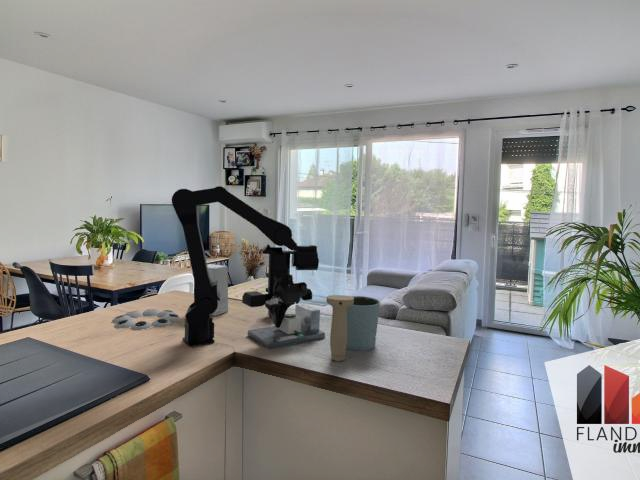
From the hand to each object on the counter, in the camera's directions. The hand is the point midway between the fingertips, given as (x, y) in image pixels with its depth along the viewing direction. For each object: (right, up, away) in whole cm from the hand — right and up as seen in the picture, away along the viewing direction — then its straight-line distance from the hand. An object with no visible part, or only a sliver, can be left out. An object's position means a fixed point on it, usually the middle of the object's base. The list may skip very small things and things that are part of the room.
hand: (277, 327), depth 106 cm
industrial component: (-3, -1, +22) cm, 22 cm away
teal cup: (+22, -4, -2) cm, 22 cm away
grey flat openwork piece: (-41, -1, +13) cm, 43 cm away
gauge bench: (+2, -3, +2) cm, 4 cm away
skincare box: (-24, -1, +24) cm, 34 cm away
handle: (+16, -5, -13) cm, 21 cm away
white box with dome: (+4, -1, +2) cm, 5 cm away
